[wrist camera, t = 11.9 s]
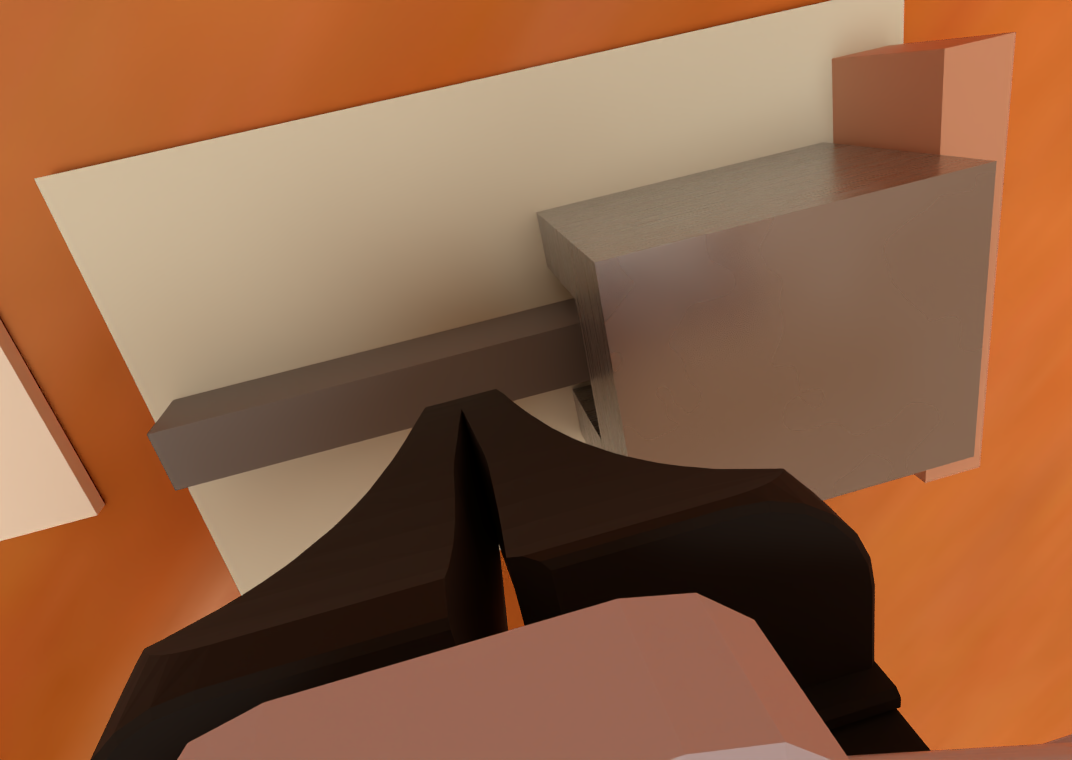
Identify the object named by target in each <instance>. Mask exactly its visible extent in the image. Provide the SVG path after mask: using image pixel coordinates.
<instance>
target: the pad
mask: <svg viewBox="0 0 1072 760" xmlns="http://www.w3.org/2000/svg"><path fill="white" fill-rule="evenodd" d="M104 505H105V504H104V502H103V500H102V498H101V497H100V495H99V493H98V491H97V490H96V488H95V486H94V484H93V482H92V481H91V479H90V477H89V475H88V474H87V472H86V470H85V468H84V467H83V465H82V463H81V461H80V459H79V458H78V456H77V454H76V452H75V451H74V449H73V447H72V445H71V444H70V442H69V440H68V438H67V436H66V435H65V433H64V431H63V429H62V428H61V426H60V424H59V422H58V421H57V419H56V417H55V415H54V413H53V412H52V410H51V408H50V406H49V405H48V403H47V401H46V399H45V398H44V396H43V394H42V392H41V390H40V389H39V387H38V385H37V383H36V382H35V380H34V378H33V376H32V375H31V373H30V371H29V369H28V367H27V366H26V364H25V362H24V360H23V359H22V357H21V355H20V353H19V352H18V350H17V348H16V346H15V344H14V343H13V341H12V339H11V337H10V336H9V334H8V332H7V330H6V329H5V327H4V325H3V323H2V321H1V320H0V541H2V540H6V539H10V538H13V537H17V536H21V535H25V534H28V533H32V532H36V531H40V530H44V529H47V528H51V527H55V526H59V525H62V524H66V523H70V522H74V521H77V520H81V519H85V518H89V517H92V516H96V515H98V514H99V512H100V511H101V510H102V508H103V507H104Z"/></svg>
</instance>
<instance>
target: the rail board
mask: <svg viewBox="0 0 1072 760" xmlns="http://www.w3.org/2000/svg"><path fill="white" fill-rule="evenodd" d="M903 33H904V0H831V1H827V2H822V3H818V4H813V5H809V6H804V7H800V8H795V9H791V10H786V11H782V12H777V13H773V14H768V15H764V16H760V17H755V18H751V19H746V20H742V21H737V22H733V23H728V24H724V25H719V26H715V27H710V28H706V29H701V30H697V31H692V32H688V33H684V34H679V35H675V36H670V37H666V38H661V39H657V40H652V41H648V42H643V43H639V44H634V45H630V46H625V47H621V48H616V49H612V50H608V51H603V52H599V53H594V54H590V55H585V56H581V57H576V58H572V59H567V60H563V61H558V62H554V63H549V64H545V65H541V66H536V67H532V68H527V69H523V70H518V71H514V72H509V73H505V74H500V75H496V76H491V77H487V78H482V79H478V80H473V81H469V82H465V83H460V84H456V85H451V86H447V87H442V88H438V89H433V90H429V91H424V92H420V93H415V94H411V95H406V96H402V97H397V98H393V99H389V100H384V101H380V102H375V103H371V104H366V105H362V106H357V107H353V108H348V109H344V110H339V111H335V112H330V113H326V114H321V115H317V116H313V117H308V118H304V119H299V120H295V121H290V122H286V123H281V124H277V125H272V126H268V127H263V128H259V129H254V130H250V131H245V132H241V133H237V134H232V135H228V136H223V137H219V138H214V139H210V140H205V141H201V142H196V143H192V144H187V145H183V146H178V147H174V148H170V149H165V150H161V151H156V152H152V153H147V154H143V155H138V156H134V157H129V158H125V159H120V160H116V161H111V162H107V163H102V164H98V165H94V166H89V167H85V168H80V169H76V170H71V171H67V172H62V173H58V174H53V175H49V176H44V177H40V178H35V181H36V183H37V185H38V187H39V189H40V192H41V194H42V196H43V198H44V200H45V202H46V204H47V206H48V208H49V210H50V212H51V214H52V216H53V218H54V220H55V222H56V224H57V226H58V228H59V230H60V232H61V234H62V236H63V238H64V240H65V242H66V244H67V246H68V248H69V250H70V252H71V254H72V256H73V258H74V260H75V262H76V264H77V266H78V268H79V270H80V272H81V274H82V276H83V278H84V280H85V282H86V284H87V286H88V288H89V290H90V292H91V294H92V296H93V298H94V300H95V302H96V304H97V306H98V308H99V310H100V312H101V314H102V316H103V318H104V320H105V322H106V324H107V326H108V328H109V330H110V332H111V334H112V336H113V338H114V340H115V342H116V344H117V346H118V348H119V350H120V352H121V354H122V356H123V358H124V360H125V362H126V364H127V366H128V368H129V371H130V373H131V375H132V377H133V379H134V381H135V383H136V385H137V387H138V389H139V391H140V393H141V395H142V397H143V399H144V401H145V403H146V405H147V407H148V409H149V411H150V413H151V415H152V417H153V419H154V421H155V425H154V426H153V427H152V428H151V430H150V431H149V432H148V434H147V436H148V438H149V440H150V441H151V443H152V445H153V447H154V449H155V451H156V453H157V455H158V457H159V459H160V461H161V463H162V465H163V467H164V469H165V471H166V473H167V475H168V477H169V479H170V481H171V483H172V485H173V487H174V489H175V491H176V490H179V489H183V488H187V487H188V489H189V491H190V493H191V495H192V497H193V499H194V501H195V503H196V505H197V507H198V509H199V511H200V513H201V515H202V517H203V519H204V521H205V523H206V525H207V527H208V529H209V531H210V533H211V535H212V537H213V539H214V541H215V543H216V545H217V548H218V550H219V552H220V554H221V556H222V558H223V560H224V562H225V564H226V566H227V568H228V570H229V572H230V574H231V576H232V578H233V580H234V582H235V584H236V586H237V588H238V590H239V592H240V594H241V595H243V594H245V593H246V592H248V591H249V590H251V589H252V588H254V587H255V586H257V585H259V584H260V583H262V582H263V581H265V580H266V579H268V578H269V577H270V576H272V575H273V574H275V573H276V572H278V571H279V570H280V569H282V568H283V567H285V566H286V565H287V564H289V563H290V562H291V561H293V560H294V559H295V558H296V557H298V556H299V555H300V554H301V553H303V552H304V551H305V550H306V549H307V548H309V547H310V546H311V545H312V544H313V543H315V542H316V541H317V540H318V539H320V538H321V537H322V536H323V535H324V534H326V533H327V532H328V531H329V530H331V529H332V528H333V527H334V526H335V525H336V524H337V523H338V522H339V521H340V520H341V519H342V518H343V517H344V516H345V515H346V514H347V513H348V512H349V511H350V510H351V509H352V508H353V507H354V506H355V505H356V504H357V503H358V502H359V501H360V500H361V499H362V498H363V496H364V495H365V494H366V493H367V492H368V491H369V490H370V488H371V487H372V486H373V485H374V483H375V482H376V481H377V479H378V478H379V477H380V475H381V474H382V473H383V471H384V470H385V469H386V468H387V466H388V465H389V464H390V462H391V461H392V460H393V458H394V457H395V455H396V454H397V452H398V451H399V449H400V448H401V446H402V445H403V443H404V441H405V440H406V438H407V436H408V435H409V433H410V431H411V430H412V428H413V426H414V425H415V423H416V421H417V420H418V418H419V416H420V415H421V413H422V412H423V410H424V409H425V407H428V406H432V405H436V404H440V403H444V402H448V401H451V400H455V399H459V398H463V397H467V396H471V395H474V394H478V393H482V392H486V391H490V390H494V389H497V390H499V391H500V392H502V393H504V394H505V395H506V396H507V397H508V398H509V399H510V400H512V401H513V402H514V403H516V404H517V405H518V406H520V407H521V408H522V409H524V410H525V411H526V412H528V413H529V414H531V415H532V416H534V417H535V418H537V419H539V420H540V421H542V422H543V423H545V424H546V425H548V426H550V427H551V428H553V429H555V430H557V431H559V432H561V433H563V434H565V435H567V436H569V437H572V438H574V439H576V440H579V441H581V442H583V443H586V441H585V440H584V438H583V436H582V434H581V431H580V426H579V421H578V416H577V411H576V406H575V401H574V396H573V391H572V389H576V388H580V387H584V386H587V385H591V382H590V377H589V372H588V366H587V361H586V356H585V350H584V345H583V340H582V334H581V329H580V324H579V319H578V313H577V308H576V303H575V298H574V297H573V296H572V295H571V294H570V293H569V291H568V290H567V289H566V288H565V287H564V285H563V284H562V283H561V282H560V281H559V280H558V278H557V277H556V276H555V275H554V274H553V273H552V271H551V270H550V269H549V268H548V267H547V263H546V258H545V253H544V248H543V243H542V238H541V233H540V228H539V223H538V218H537V213H536V212H539V211H543V210H547V209H551V208H555V207H559V206H564V205H568V204H572V203H576V202H580V201H584V200H588V199H592V198H596V197H600V196H605V195H609V194H613V193H617V192H621V191H625V190H629V189H633V188H637V187H641V186H646V185H650V184H654V183H658V182H662V181H666V180H670V179H674V178H678V177H682V176H687V175H691V174H695V173H699V172H703V171H707V170H711V169H715V168H719V167H723V166H727V165H732V164H736V163H740V162H744V161H748V160H752V159H756V158H760V157H764V156H768V155H773V154H777V153H781V152H785V151H789V150H793V149H797V148H801V147H805V146H809V145H814V144H818V143H822V142H826V143H835V144H845V145H854V146H863V147H872V148H882V149H891V150H900V151H909V152H918V153H928V154H937V155H946V156H955V157H965V158H974V159H983V160H992V161H997V163H996V176H995V189H994V202H993V215H992V228H991V241H990V254H989V267H988V280H987V293H986V306H985V319H984V332H983V345H982V358H981V371H980V384H979V397H978V410H977V424H976V437H975V450H974V457H971V458H967V459H964V460H960V461H957V462H953V463H950V464H946V465H943V466H940V467H936V468H933V469H929V470H926V471H922V472H919V473H916V474H914V475H916V476H917V477H918V478H920V479H921V480H922V481H924V482H925V483H926V482H930V481H933V480H937V479H940V478H944V477H947V476H950V475H954V474H957V473H961V472H964V471H968V470H971V469H975V468H978V467H980V458H981V446H982V434H983V422H984V410H985V398H986V386H987V374H988V362H989V350H990V338H991V326H992V314H993V302H994V290H995V278H996V266H997V253H998V241H999V229H1000V217H1001V205H1002V193H1003V181H1004V169H1005V157H1006V145H1007V133H1008V121H1009V109H1010V97H1011V85H1012V73H1013V61H1014V49H1015V37H1016V32H1012V33H1002V34H993V35H983V36H974V37H964V38H955V39H945V40H936V41H926V42H917V43H907V44H903ZM586 444H587V443H586ZM499 549H500V546H499ZM500 550H501V549H500Z"/></svg>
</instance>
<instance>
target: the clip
mask: <svg viewBox="0 0 1072 760" xmlns="http://www.w3.org/2000/svg"><path fill="white" fill-rule="evenodd" d="M996 163H997V161H992V160H983V159H974V158H965V157H955V156H946V155H937V154H928V153H918V152H909V151H900V150H891V149H882V148H872V147H863V146H854V145H845V144H835V143H826V142H822V143H818V144H814V145H809V146H805V147H801V148H797V149H793V150H789V151H785V152H781V153H777V154H773V155H768V156H764V157H760V158H756V159H752V160H748V161H744V162H740V163H736V164H732V165H727V166H723V167H719V168H715V169H711V170H707V171H703V172H699V173H695V174H691V175H687V176H682V177H678V178H674V179H670V180H666V181H662V182H658V183H654V184H650V185H646V186H641V187H637V188H633V189H629V190H625V191H621V192H617V193H613V194H609V195H605V196H600V197H596V198H592V199H588V200H584V201H580V202H576V203H572V204H568V205H564V206H559V207H555V208H551V209H547V210H543V211H539V212H536V213H537V218H538V223H539V228H540V233H541V238H542V243H543V248H544V253H545V258H546V263H547V267H548V268H549V269H550V270H551V271H552V273H553V274H554V275H555V276H556V277H557V278H558V280H559V281H560V282H561V283H562V284H563V285H564V287H565V288H566V289H567V290H568V291H569V293H570V294H571V295H572V296H573V297H574V298H575V303H576V308H577V313H578V319H579V324H580V329H581V334H582V340H583V345H584V350H585V356H586V361H587V366H588V372H589V377H590V382H591V385H587V386H584V387H580V388H576V389H572V391H573V396H574V401H575V406H576V411H577V416H578V421H579V426H580V431H581V434H582V436H583V438H584V440H585V441H586V443H587V444H589V445H592V446H595V447H598V448H601V449H603V450H606V451H609V452H613V453H616V454H620V455H624V456H628V457H633V458H637V459H642V460H647V461H652V462H657V463H663V464H671V465H678V466H688V467H700V468H711V469H777V468H783V469H785V470H786V471H787V472H788V473H790V474H791V475H792V476H793V477H795V478H796V479H797V480H799V481H800V482H801V483H802V484H804V485H805V486H806V487H807V488H809V489H810V490H811V491H812V492H814V493H815V494H816V495H817V496H818V497H819V498H820V499H821V500H822V501H823V500H826V499H830V498H833V497H836V496H840V495H843V494H847V493H850V492H854V491H857V490H861V489H864V488H867V487H871V486H874V485H878V484H881V483H885V482H888V481H891V480H895V479H898V478H902V477H905V476H909V475H912V474H916V473H919V472H922V471H926V470H929V469H933V468H936V467H940V466H943V465H946V464H950V463H953V462H957V461H960V460H964V459H967V458H971V457H974V450H975V437H976V424H977V410H978V397H979V384H980V371H981V358H982V345H983V332H984V319H985V306H986V293H987V280H988V267H989V254H990V241H991V228H992V215H993V202H994V189H995V176H996Z"/></svg>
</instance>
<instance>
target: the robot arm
mask: <svg viewBox="0 0 1072 760" xmlns="http://www.w3.org/2000/svg"><path fill="white" fill-rule="evenodd" d="M499 546H500V549H501V552H502V555H503V558H504V560H505V563H506V566H507V569H508V571H509V574H510V577H511V580H512V583H513V585H514V588H515V592H516V595H517V599H518V603H519V606H520V610H521V614H522V617H523V621H524V625H525V626H523V627H519V628H516V629H513V630H509V631H508V626H507V616H506V606H505V597H504V587H503V577H502V568H501V558H500V549H499ZM874 611H875V584H874V578H873V571H872V565H871V559H870V556H869V554H868V553H867V551H866V549H865V547H864V545H863V544H862V542H861V540H860V538H859V537H858V535H857V533H856V532H855V531H854V530H853V529H852V528H850V527H849V526H848V525H847V524H846V523H845V522H844V521H843V520H842V519H841V518H840V517H839V516H838V515H837V514H836V513H835V512H834V511H833V510H832V509H831V508H830V507H829V506H828V505H827V504H826V503H824V502H823V501H822V500H821V499H820V498H819V497H818V496H817V495H816V494H815V493H814V492H812V491H811V490H810V489H809V488H807V487H806V486H805V485H804V484H802V483H801V482H800V481H799V480H797V479H796V478H795V477H793V476H792V475H791V474H790V473H788V472H787V471H786V470H785V469H783V468H777V469H711V468H700V467H688V466H678V465H671V464H663V463H657V462H652V461H647V460H642V459H637V458H633V457H628V456H624V455H620V454H616V453H613V452H609V451H606V450H603V449H601V448H598V447H595V446H592V445H589V444H586V443H583V442H581V441H579V440H576V439H574V438H572V437H569V436H567V435H565V434H563V433H561V432H559V431H557V430H555V429H553V428H551V427H550V426H548V425H546V424H545V423H543V422H542V421H540V420H539V419H537V418H535V417H534V416H532V415H531V414H529V413H528V412H526V411H525V410H524V409H522V408H521V407H520V406H518V405H517V404H516V403H514V402H513V401H512V400H510V399H509V398H508V397H507V396H506V395H505V394H504V393H502V392H500V391H499V390H497V389H494V390H490V391H486V392H482V393H478V394H474V395H471V396H467V397H463V398H459V399H455V400H451V401H448V402H444V403H440V404H436V405H432V406H428V407H425V409H424V410H423V412H422V413H421V415H420V416H419V418H418V420H417V421H416V423H415V425H414V426H413V428H412V430H411V431H410V433H409V435H408V436H407V438H406V440H405V441H404V443H403V445H402V446H401V448H400V449H399V451H398V452H397V454H396V455H395V457H394V458H393V460H392V461H391V462H390V464H389V465H388V466H387V468H386V469H385V470H384V471H383V473H382V474H381V475H380V477H379V478H378V479H377V481H376V482H375V483H374V485H373V486H372V487H371V488H370V490H369V491H368V492H367V493H366V494H365V495H364V496H363V498H362V499H361V500H360V501H359V502H358V503H357V504H356V505H355V506H354V507H353V508H352V509H351V510H350V511H349V512H348V513H347V514H346V515H345V516H344V517H343V518H342V519H341V520H340V521H339V522H338V523H337V524H336V525H335V526H334V527H333V528H332V529H331V530H329V531H328V532H327V533H326V534H324V535H323V536H322V537H321V538H320V539H318V540H317V541H316V542H315V543H313V544H312V545H311V546H310V547H309V548H307V549H306V550H305V551H304V552H303V553H301V554H300V555H299V556H298V557H296V558H295V559H294V560H293V561H291V562H290V563H289V564H287V565H286V566H285V567H283V568H282V569H280V570H279V571H278V572H276V573H275V574H273V575H272V576H270V577H269V578H268V579H266V580H265V581H263V582H262V583H260V584H259V585H257V586H255V587H254V588H252V589H251V590H249V591H248V592H246V593H245V594H243V595H241V596H240V597H238V598H237V599H235V600H233V601H232V602H230V603H228V604H227V605H225V606H223V607H222V608H220V609H218V610H217V611H215V612H213V613H211V614H209V615H207V616H206V617H204V618H202V619H200V620H198V621H196V622H194V623H193V624H191V625H189V626H187V627H185V628H183V629H182V630H180V631H178V632H176V633H174V634H172V635H170V636H169V637H167V638H165V639H163V640H161V641H159V642H157V643H155V644H153V645H151V646H149V647H147V648H145V649H144V650H143V652H142V654H141V656H140V658H139V659H138V661H137V663H136V665H135V667H134V669H133V671H132V673H131V676H130V678H129V680H128V682H127V684H126V686H125V688H124V690H123V692H122V694H121V696H120V698H119V700H118V703H117V705H116V707H115V709H114V711H113V713H112V715H111V717H110V720H109V722H108V724H107V726H106V728H105V730H104V732H103V734H102V736H101V739H100V741H99V743H98V745H97V747H96V749H95V751H94V753H93V756H92V758H91V760H1072V735H1068V736H1065V737H1062V738H1059V739H1056V740H1053V741H1050V742H1047V743H1044V744H1036V745H1019V746H1003V747H986V748H969V749H952V750H935V751H930V749H929V748H928V747H927V746H926V744H925V743H924V742H923V741H922V739H921V738H920V737H919V736H918V735H917V733H916V732H915V731H914V730H913V728H912V727H911V726H910V725H909V724H908V722H907V721H906V720H905V719H904V717H903V716H902V715H901V714H900V713H899V711H898V710H897V709H896V708H899V707H900V706H901V697H900V694H899V692H898V690H897V687H896V686H895V685H894V684H893V682H892V681H891V680H890V679H889V678H888V677H887V675H886V674H885V673H884V672H883V671H882V669H881V668H880V667H879V666H878V665H877V664H876V662H875V661H874Z"/></svg>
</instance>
